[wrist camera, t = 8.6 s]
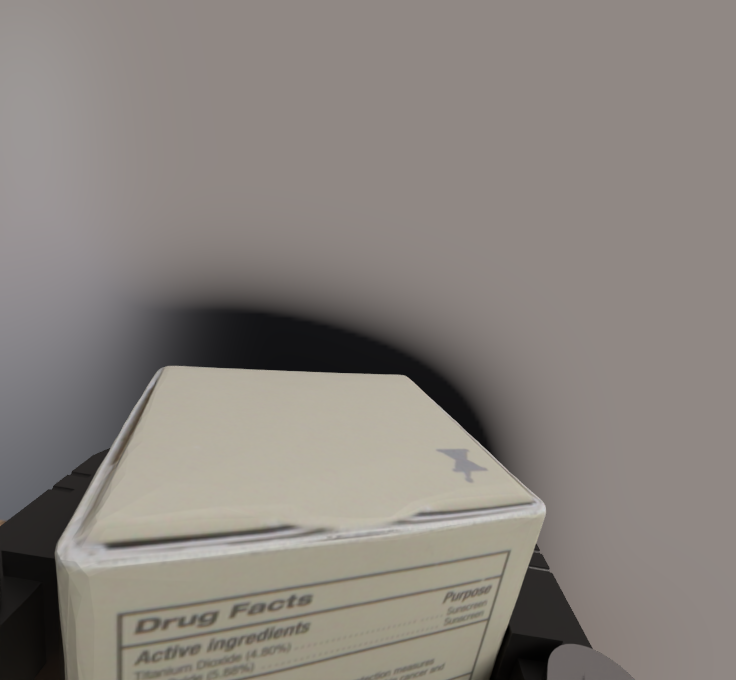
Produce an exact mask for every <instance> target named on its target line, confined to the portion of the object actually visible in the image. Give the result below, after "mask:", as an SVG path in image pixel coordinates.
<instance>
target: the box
mask: <svg viewBox="0 0 736 680" xmlns="http://www.w3.org/2000/svg"><path fill="white" fill-rule="evenodd" d="M545 514H546V508H545V504H544V503H543V502H542V500H541V499H539V498H538V497H537V496H536V495H535V494H534V493H532V492H531V491H530V490H529V489H528V488H527V487H525V486H524V485H523V484H522V483H521V482H520V481H519V480H518V479H517V478H516V477H515V476H513V475H512V474H511V473H510V472H509V471H508V470H507V469H506V468H505V467H504V466H503V465H502V464H501V463H500V462H498V461H497V460H496V459H495V458H494V457H493V456H492V455H491V454H490V453H489V452H488V451H487V450H486V449H485V448H484V447H483V446H482V445H481V444H479V442H477V441H476V440H475V439H474V438H473V437H472V436H471V435H470V434H468V433H467V432H466V431H465V430H464V429H463V428H462V427H461V426H460V425H459V424H458V423H457V422H456V421H455V420H454V419H452V418H451V417H450V416H449V415H448V414H447V413H446V412H445V411H444V410H443V409H442V408H441V407H439V406H438V405H437V404H436V403H435V402H434V401H433V400H432V399H431V398H430V397H428V396H427V395H426V394H425V393H424V392H423V391H422V390H421V389H420V388H419V387H418V386H417V385H416V384H415V383H414V382H413V381H411V380H410V379H409V378H408V377H406V376H403V375H379V374H347V373H320V372H296V371H269V370H248V369H226V368H204V367H186V366H166V367H164V368H161V369H160V370H159V371H158V372H156V374H155V375H154V377H153V378H152V380H151V382H150V383H149V385H148V386H147V388H146V390H145V392H144V393H143V395H142V397H141V398H140V400H139V401H138V403H137V404H136V406H135V407H134V409H133V410H132V412H131V414H130V416H129V418H128V419H127V421H126V422H125V424H124V426H123V428H122V430H121V432H120V433H119V435H118V436H117V438H116V439H115V441H114V442H113V444H112V446H111V448H110V450H109V452H108V454H107V456H106V457H105V459H104V460H103V462H102V463H101V465H100V467H99V468H98V470H97V472H96V474H95V476H94V477H93V479H92V481H91V483H90V485H89V487H88V489H87V491H86V492H85V494H84V496H83V498H82V500H81V502H80V503H79V505H78V507H77V509H76V511H75V512H74V514H73V516H72V518H71V520H70V521H69V523H68V525H67V527H66V528H65V530H64V532H63V533H62V535H61V537H60V539H59V540H58V542H57V544H56V549H55V562H56V572H57V584H58V599H59V612H60V621H61V631H62V641H63V651H64V661H65V680H490V677H491V674H492V671H493V668H494V665H495V661H496V658H497V655H498V653H499V650H500V647H501V644H502V641H503V638H504V635H505V632H506V629H507V626H508V623H509V620H510V617H511V615H512V612H513V609H514V606H515V603H516V601H517V598H518V595H519V592H520V589H521V586H522V583H523V580H524V576H525V574H526V571H527V568H528V565H529V563H530V560H531V557H532V554H533V551H534V548H535V545H536V542H537V539H538V536H539V533H540V530H541V527H542V523H543V521H544V517H545Z"/></svg>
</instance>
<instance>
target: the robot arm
mask: <svg viewBox="0 0 736 680" xmlns="http://www.w3.org/2000/svg"><path fill="white" fill-rule="evenodd" d="M109 450H110V448H109V449H107V450H104V451H102V452H100V453H97V454H95V455H93V456H92V457H90V458H89V459H88V460H87V461H85V462H84V463H82V464H81V465H80V466H79V467H77V468H76V469H75V470H73V471H72V474H71V475H67V476H66V477H64V478H63V479H62V480H60V481H59V482H58V483H56V484H55V485H54V486H53V489H52V490H47V491H46V492H45V493H43V494H42V495H41V496H39V497H38V498H37V499H36V500H34V501H33V502H31V503H30V504H29V505H28V506H26V507H25V508H24V509H22V510H21V511H20V512H18V513H17V514H16V515H15V516H13V517H12V518H11V519H9V520H8V521H7V522H5V523H4V524H3V525H1V526H0V680H65V661H64V651H63V641H62V631H61V621H60V612H59V599H58V584H57V572H56V562H55V549H56V544H57V542H58V540H59V539H60V537H61V535H62V533H63V532H64V530H65V528H66V527H67V525H68V523H69V521H70V520H71V518H72V516H73V514H74V512H75V511H76V509H77V507H78V505H79V503H80V502H81V500H82V498H83V496H84V494H85V492H86V491H87V489H88V487H89V485H90V483H91V481H92V479H93V477H94V476H95V474H96V472H97V470H98V468H99V467H100V465H101V463H102V462H103V460H104V459H105V457H106V456H107V454H108V452H109ZM490 680H635V679H634V678H633V677H632V676H631V675H630V674H629V673H628V672H626V671H625V670H624V669H623V668H622V667H621V666H619V665H618V664H617V663H615V662H614V661H613V660H611V659H610V658H608V657H607V656H605V655H603V654H602V653H600V652H598V651H596V650H593V648H592V647H591V645H590V643H589V641H588V640H587V637H586V636H585V634H584V632H583V630H582V628H581V626H580V625H579V622H578V621H577V619H576V617H575V615H574V613H573V611H572V609H571V607H570V606H569V604H568V602H567V600H566V598H565V596H564V594H563V592H562V591H561V589H560V587H559V585H558V583H557V581H556V579H555V578H554V576H553V574H552V573H550V572H549V566H548V565H547V563H546V561H545V559H544V557H543V555H542V554H540V550H539V548H538V546H537V544H536V545H535V548H534V551H533V554H532V557H531V560H530V563H529V565H528V568H527V571H526V574H525V576H524V580H523V583H522V586H521V589H520V592H519V595H518V598H517V601H516V603H515V606H514V609H513V612H512V615H511V617H510V620H509V623H508V626H507V629H506V632H505V635H504V638H503V641H502V644H501V647H500V650H499V653H498V655H497V658H496V661H495V665H494V668H493V671H492V674H491V677H490Z"/></svg>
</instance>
